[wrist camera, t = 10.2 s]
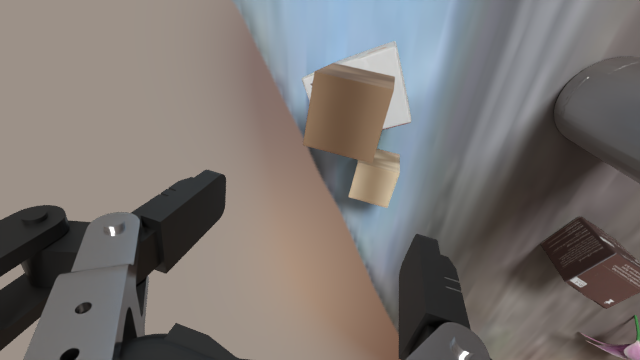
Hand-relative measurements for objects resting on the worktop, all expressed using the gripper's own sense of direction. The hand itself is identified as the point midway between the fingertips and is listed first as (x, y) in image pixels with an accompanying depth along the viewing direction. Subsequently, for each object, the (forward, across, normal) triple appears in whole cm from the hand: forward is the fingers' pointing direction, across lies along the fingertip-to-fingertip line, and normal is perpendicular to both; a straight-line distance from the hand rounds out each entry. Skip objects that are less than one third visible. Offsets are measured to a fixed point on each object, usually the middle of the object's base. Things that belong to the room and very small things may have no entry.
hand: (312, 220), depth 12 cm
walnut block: (+15, +1, -2) cm, 15 cm away
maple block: (+28, -3, +9) cm, 30 cm away
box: (+28, -31, +12) cm, 44 cm away
